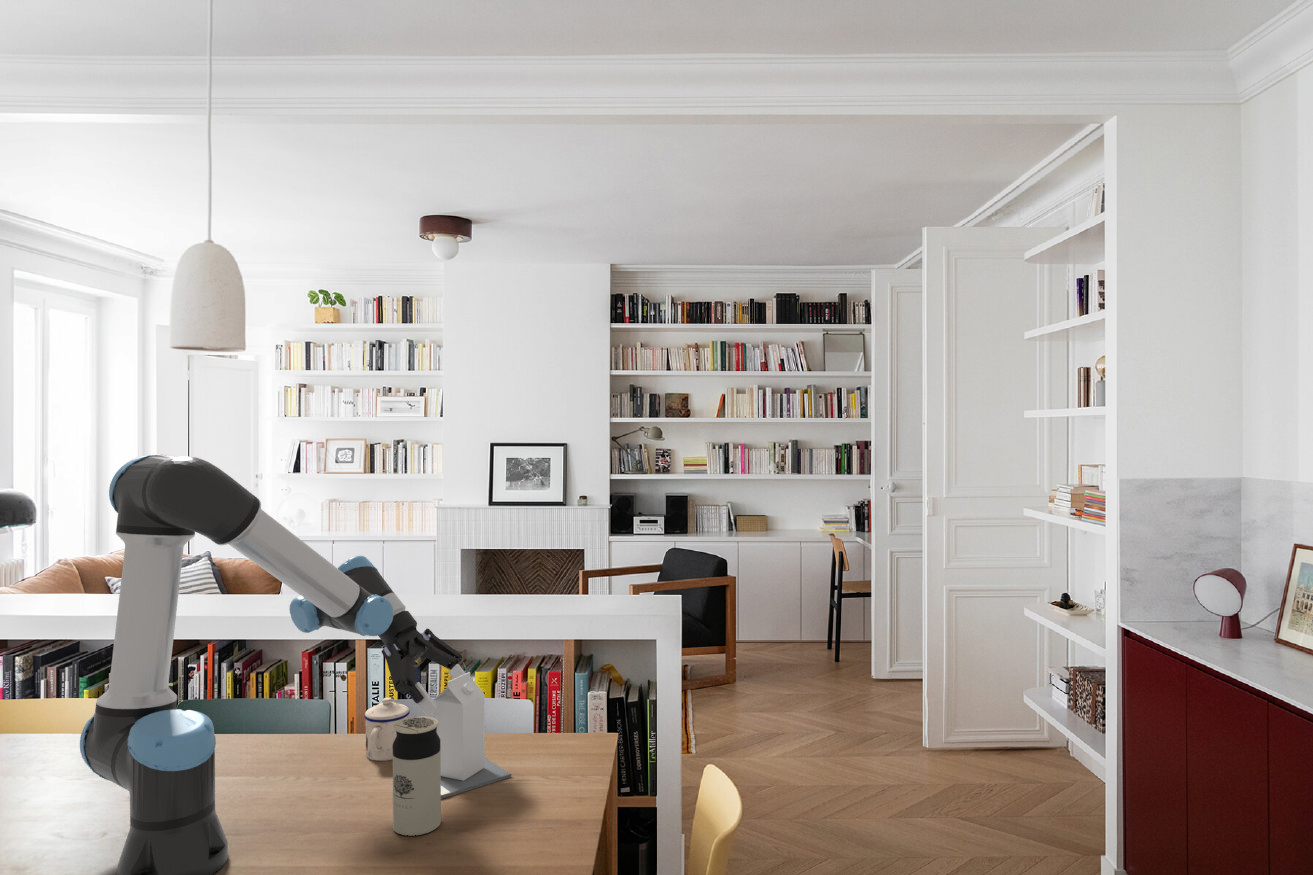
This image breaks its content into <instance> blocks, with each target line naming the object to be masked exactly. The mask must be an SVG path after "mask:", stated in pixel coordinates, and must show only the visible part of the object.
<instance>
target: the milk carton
mask: <svg viewBox="0 0 1313 875" xmlns="http://www.w3.org/2000/svg"><path fill="white" fill-rule="evenodd" d="M446 684H447V687H446V688H445V689H443V691H442V692H440V694H438V695H437V696H436V697H435V698H433V701H434V703H435V704H436V705H437V707H438V708H439V709H438V710H437V711H436V712H435V713H434V714H433V718H436V719H437V720H438V721H439V725H438V726H437V731H436V732H437V734H438V736H439V738H440V753H441V776H443V777H447V778H452V779H457V780H461V781H464V780H466V779H467V778H469V777H470V776H472V775H474V774H475V773H477V772H478V771H480V770H482V769H483V768H484V767H485V758H486V757H485V756H486V754H485V752H486V751H485V750H486V749H485V746H486V745H485V740H486V739H485V738H486V737H485V730H486V729H485V728H486V727H485V692H483V690H482V689H481V688H480V687H479V685H478V684H476V682H475V681H474V679H472V677H471V672H470V671H468V672H466V674H464V675H461V676H459V677H457V678H455V679H453V678H452V679H451V680H448V681H446Z"/></svg>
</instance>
